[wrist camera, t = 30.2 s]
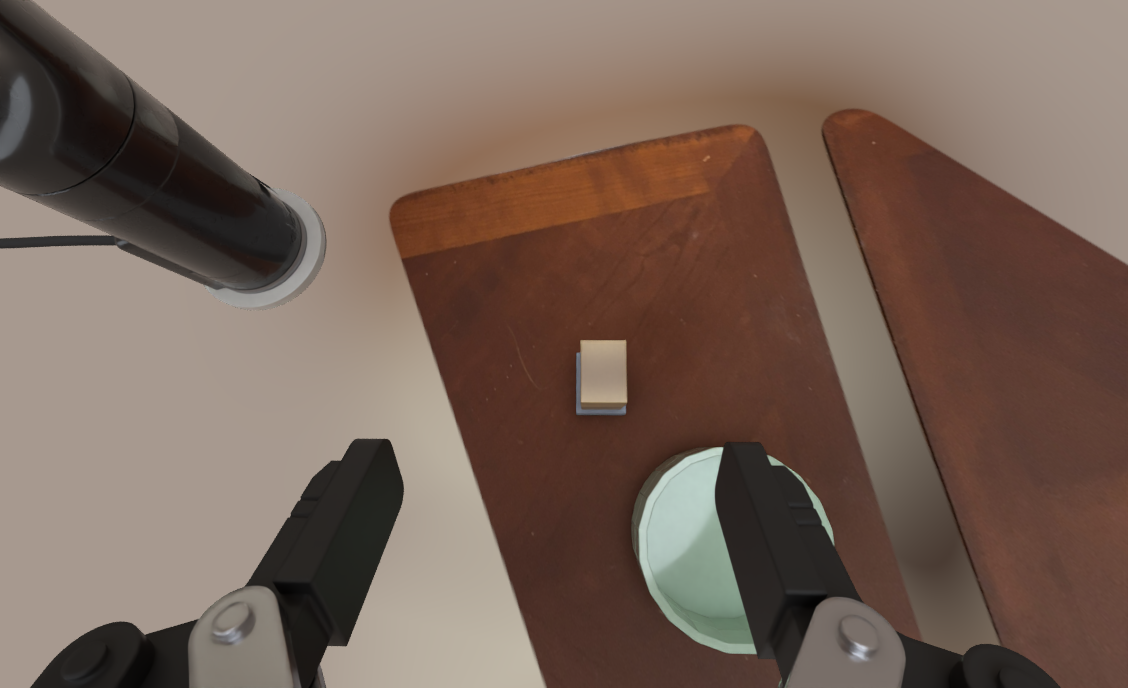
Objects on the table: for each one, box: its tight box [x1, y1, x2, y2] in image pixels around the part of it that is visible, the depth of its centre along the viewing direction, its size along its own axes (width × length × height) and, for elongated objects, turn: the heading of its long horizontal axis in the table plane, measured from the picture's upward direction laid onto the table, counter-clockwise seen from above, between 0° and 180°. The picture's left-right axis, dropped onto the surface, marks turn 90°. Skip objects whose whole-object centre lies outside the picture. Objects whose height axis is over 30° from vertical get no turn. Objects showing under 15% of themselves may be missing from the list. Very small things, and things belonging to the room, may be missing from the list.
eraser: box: [576, 340, 627, 415], centre depth 37 cm, size 5×4×8 cm
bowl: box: [631, 447, 834, 654], centre depth 35 cm, size 13×13×6 cm
